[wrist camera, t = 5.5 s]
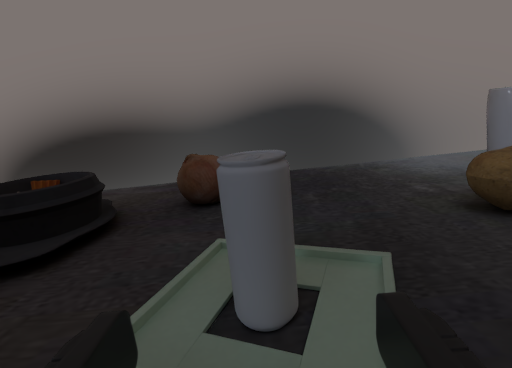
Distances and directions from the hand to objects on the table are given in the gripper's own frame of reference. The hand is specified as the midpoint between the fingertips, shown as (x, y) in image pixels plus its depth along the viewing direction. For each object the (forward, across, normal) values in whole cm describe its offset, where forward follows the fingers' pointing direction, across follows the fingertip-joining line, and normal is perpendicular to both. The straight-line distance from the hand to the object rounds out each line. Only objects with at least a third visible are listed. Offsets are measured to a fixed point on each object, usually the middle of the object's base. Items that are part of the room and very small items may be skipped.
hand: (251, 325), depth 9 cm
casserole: (+30, +32, +8) cm, 44 cm away
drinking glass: (+50, -48, +8) cm, 70 cm away
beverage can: (+11, 0, +8) cm, 14 cm away
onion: (+41, +10, +8) cm, 43 cm away
